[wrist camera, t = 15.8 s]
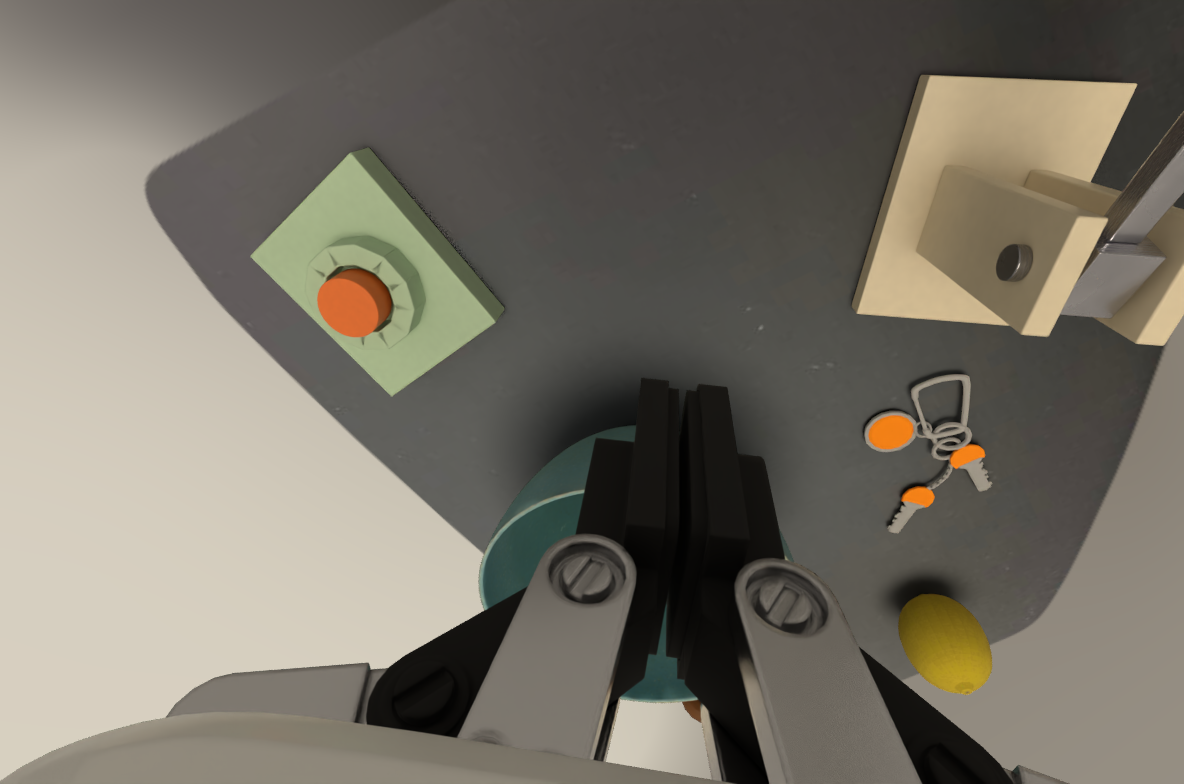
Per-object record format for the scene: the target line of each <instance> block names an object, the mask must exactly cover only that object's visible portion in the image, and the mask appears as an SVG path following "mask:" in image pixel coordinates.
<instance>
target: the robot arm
mask: <svg viewBox="0 0 1184 784" xmlns="http://www.w3.org/2000/svg"><path fill="white" fill-rule="evenodd" d="M666 602H667V604H666ZM665 607H666V657H671V658H677V679H682V680H684V684H685V685H686V686H687V688H688V689H689V690H690V691H691V692H692V693H693V694H694V695H695V696H696V698H697V699H698V700H699V701H700V702H701V705H700V707H701V722H702V728H703V733H704V738H705V744H706V750H707V755H708V761H709V766H710V772H711V777H712V780H710V779H704V778H698V777H692V776H686V775H679V774H673V773H668V772H662V771H656V770H650V769H644V768H637V767H632V766H625V765H620V764H613V763H608V762H606V758H607V754H608V750H609V746H610V742H611V737H612V733H613V729H614V725H615V721H616V717H617V713H618V709H619V704H620V697H621V696H622V695H623V694H625V693H626V692H627V691H628V690H630V689H631V688H632V687H634V686H635V685H636V684H638V683H639V682H640V681H641V680H643V679H644V678H645V672H646V666H647V661H648V655H649V654H651V655H657V650H658V644H659V639H660V634H661V628H662V623H663V618H664V612H665ZM0 784H1068V783H1066V782H1063V781H1060V780H1058V779H1055V778H1052V777H1050V776H1047V775H1044V774H1042V773H1039V772H1036V771H1033V770H1031V769H1028V768H1025V767H1023V766H1020V765H1018V766H1017V767H1016V768H1015V769H1014V770H1013V771H1010V770H1007V769H1005V768H1002V767H1001V765H1000V764H999V763H998V762H997V761H996V760H995V759H994V758H993V757H992V756H991V755H990V754H989V753H988V752H987V751H986V750H985V749H984V748H983V747H982V746H981V745H980V744H978V743H977V742H976V741H975V740H973V739H972V738H971V737H970V736H968V735H967V734H966V733H965V732H963V731H962V730H961V729H960V728H958V727H957V726H956V725H955V724H954V723H952V722H951V721H950V720H949V719H947V718H946V717H945V716H944V715H942V714H941V713H940V712H939V711H938V710H936V709H935V708H934V707H932V706H931V705H930V704H929V703H928V702H926V701H925V700H924V699H923V698H921V697H920V696H919V695H918V694H917V693H915V692H914V691H913V690H912V689H910V688H909V687H908V686H907V685H906V684H904V683H903V682H902V681H901V680H899V679H898V678H897V677H896V676H894V675H893V674H892V673H891V672H889V671H888V670H887V669H886V668H885V667H883V666H882V665H881V664H880V663H878V662H877V661H876V660H875V659H873V658H872V657H871V656H870V655H869V654H867V653H866V652H865V651H864V650H862V649H861V648H860V647H859V646H858V644H857V642H856V640H855V638H854V636H853V634H852V632H851V629H850V627H849V625H848V623H847V621H846V619H845V616H844V614H843V612H842V610H841V608H840V606H839V603H838V601H837V599H836V597H835V596H834V594H833V593H832V591H831V590H830V588H829V587H828V585H827V584H826V583H825V582H824V581H823V580H821V579H820V578H819V577H818V576H817V575H816V574H815V573H813V572H812V571H810V570H808V569H807V568H805V567H803V566H802V565H799V564H796V563H794V562H791V561H788V560H786V559H785V555H784V550H783V545H782V540H781V536H780V531H779V526H778V522H777V517H776V512H775V508H774V503H773V498H772V494H771V489H770V484H769V480H768V475H767V470H766V466H765V462H764V459H763V458H762V457H759V456H750V455H742V454H737V448H736V442H735V435H734V428H733V422H732V415H731V408H730V402H729V395H728V389H727V387H721V386H712V385H703V384H699V385H698V387H697V391H691V390H687V392H686V396H685V402H684V408H683V415H682V421H681V427H680V433H679V389H672V388H669V381H665V380H656V379H646V378H641V387H640V396H639V405H638V414H637V423H636V432H635V441H634V442H630V441H622V440H613V439H604V438H596V439H595V443H594V447H593V452H592V457H591V462H590V467H589V471H588V476H587V481H586V486H585V491H584V495H583V500H582V505H581V510H580V515H579V519H578V524H577V529H576V534H575V535H571V536H568V537H566V538H563V539H560V540H558V541H557V542H556V543H554V544H553V545H552V546H550V547H549V548H548V549H547V551H546V552H545V553H544V555H543V556H542V558H541V560H540V562H539V564H538V566H537V568H536V570H535V572H534V575H533V577H532V579H531V581H530V583H529V585H528V586H527V587H525V588H524V589H522V590H520V591H518V592H516V593H515V594H513V595H511V596H509V597H508V598H506V599H504V600H502V601H501V602H499V603H497V604H495V605H494V606H492V607H490V608H488V609H486V610H485V611H483V612H481V613H479V614H478V615H476V616H474V617H472V618H471V619H469V620H467V621H465V622H464V623H462V624H460V625H458V626H456V627H455V628H453V629H451V630H449V631H448V632H446V633H444V634H442V635H441V636H439V637H437V638H435V639H433V640H432V641H430V642H428V643H427V644H425V645H423V646H421V647H419V648H418V649H416V650H414V651H412V652H410V653H409V654H407V655H405V656H404V657H402V658H401V659H400V660H398V661H397V662H395V663H394V664H393V665H391V666H390V667H389V668H386V669H373V670H371V669H370V666H369V663H359V664H346V665H332V666H319V667H307V668H294V669H281V670H268V671H255V672H243V673H232V674H228V675H224V676H220V677H216V678H213V679H211V680H209V681H208V682H205V683H203V684H201V685H200V686H198V687H196V688H194V689H193V690H192V691H190V692H189V693H188V694H187V695H186V696H184V697H183V698H182V699H181V700H180V701H179V702H177V703H176V704H175V705H174V707H173V708H172V709H171V711H170V712H169V714H168V715H167V716H166V718H162V719H156V720H151V721H145V722H141V723H137V724H133V725H130V726H126V727H122V728H118V729H115V730H111V731H108V732H104V733H101V734H98V735H95V736H92V737H89V738H85V739H82V740H80V741H77V742H74V743H72V744H69V745H67V746H64V747H62V748H59V749H56V750H54V751H51V752H49V753H47V754H45V755H43V756H42V757H40V758H38V759H36V760H34V761H32V762H30V763H28V764H26V765H24V766H22V767H21V768H19V769H18V770H16V771H15V772H13V773H12V774H10V775H9V776H7V777H6V778H4V779H3V780H1V781H0Z"/></svg>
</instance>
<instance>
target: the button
mask: <svg viewBox="0 0 1184 784" xmlns="http://www.w3.org/2000/svg"><path fill="white" fill-rule="evenodd" d="M317 304H318V308H319V311H320V313H321V315H322V317H323V319H324V320H325V321H326V322H327V323H328V325H329V326H331V327H332V328H333V329H334V330H336V331H337V332H339V333H341V334H343V335H346V336H349V337H364V336H367V335H369V334H370V333H372V332H373V331H374V330H375V329H376V328H377V327H378V326H380V325H381V324H382V323H383V322H384V321H385V320H386V319H387V318H388V316H389V314H390V312H391V297H390V294H389V292H388V290H387V288H386V287H385V285H384V284H383V283H382V281H381V280H380V279H379V278H377V277H376V276H375V275H373V274H372V273H370V272H368V271H365V270H362V269H347V270H344V271H342V272H341V273H339V274H337V275H336V276H334V277H333V278H331V279H330V280H328V281H326V282H325V283H324V284H323V285H322V286H321V288H320V289H319V292H318V296H317Z"/></svg>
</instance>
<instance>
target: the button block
mask: <svg viewBox="0 0 1184 784" xmlns="http://www.w3.org/2000/svg"><path fill="white" fill-rule="evenodd" d="M250 257H251V258H252V259H253V260H254V261H255V262H256V263H257V264H258V265H259V266H260V267H261V268H262V269H263V270H264V271H265V272H266V273H267V274H268V275H269V276H270V277H271V278H272V279H273V280H274V281H275V282H276V283H278V284H279V285H280V286H281V287H282V288H283V289H284V290H285V291H286V292H287V293H288V294H289V295H290V296H291V297H292V298H293V299H294V300H295V301H296V302H297V303H298V304H299V305H300V306H301V307H302V308H303V309H304V310H305V311H306V312H307V313H308V314H309V315H310V316H311V317H312V318H313V319H314V320H315V321H316V322H317V323H318V324H319V325H320V326H321V327H322V328H323V329H324V330H325V331H326V332H327V333H328V334H329V335H330V336H331V337H332V338H333V339H334V340H335V341H336V342H337V343H338V344H339V345H340V346H341V347H342V348H343V349H344V350H345V351H346V352H347V353H348V354H349V355H350V356H351V357H352V358H353V359H354V360H355V361H356V362H357V363H358V364H359V365H360V366H361V367H362V368H363V369H364V370H365V371H366V372H367V373H368V374H369V375H370V376H371V377H372V378H373V379H374V380H375V381H376V382H377V383H378V384H379V385H380V386H381V387H382V388H384V389H385V390H386V391H387V392H388V393H389V394H390V395H391V396H393V395H395V394H396V393H397V392H399V391H400V390H402V389H403V388H404V387H406V386H407V385H409V384H410V383H411V382H413V381H414V380H416V379H417V378H418V377H420V376H421V375H423V374H424V373H425V372H427V371H428V370H430V369H431V368H432V367H434V366H435V365H437V364H438V363H439V362H441V361H442V360H444V359H445V358H447V357H448V356H449V355H451V354H452V353H454V352H455V351H456V350H458V349H459V348H461V347H462V346H463V345H465V344H466V343H468V342H469V341H470V340H472V339H473V338H475V337H476V336H477V335H479V334H480V333H482V332H483V331H484V330H486V329H487V328H489V327H490V326H491V325H493V324H494V323H496V321H497V320H498V318H499V317H500V315H501V314H502V312H503V311H504V309H505V308H504V307H503V306H502V304H501V303H500V302H499V301H498V300H497V299H496V297H495V296H494V295H493V294H492V293H491V291H490V290H489V289H488V288H487V287H486V286H485V284H484V283H483V282H482V281H481V280H480V278H479V277H478V276H477V275H476V274H475V272H474V271H473V270H472V269H471V268H470V267H469V265H468V264H467V263H466V262H465V261H464V259H463V258H462V257H461V256H460V255H459V254H458V252H457V251H456V250H455V249H454V248H453V246H452V245H451V244H450V243H449V242H448V240H447V239H446V238H445V237H444V236H443V235H442V233H441V232H440V231H439V230H438V229H437V227H436V226H435V225H434V224H433V223H432V222H431V220H430V219H429V218H428V217H427V216H426V214H425V213H424V212H423V211H422V210H421V208H420V207H419V206H418V205H417V204H416V203H415V201H414V200H413V199H412V198H411V197H410V195H409V194H408V193H407V192H406V191H405V190H404V188H403V187H402V186H401V185H400V184H399V182H398V181H397V180H396V179H395V178H394V176H393V175H392V174H391V173H390V172H389V171H388V169H387V168H386V167H385V166H384V165H383V163H382V162H381V161H380V160H379V159H378V157H377V156H376V155H375V154H374V153H373V152H372V150H371V149H370V148H365V149H362V150H358V151H355V152H351V153H349V154H348V155H347V156H346V157H345V158H344V159H343V161H342V162H341V163H340V164H339V165H338V166H337V167H336V168H335V169H334V170H333V171H332V172H331V173H330V174H329V175H328V176H327V177H326V178H325V179H324V180H323V181H322V182H321V183H320V184H319V185H318V186H317V187H316V188H315V189H314V190H313V192H312V193H311V194H310V195H309V196H308V197H307V198H306V199H305V200H304V201H303V202H302V203H301V204H300V205H299V206H298V207H297V208H296V209H295V210H294V211H293V212H292V213H291V214H290V215H289V216H288V217H287V218H286V219H285V220H284V221H283V222H282V224H281V225H280V226H279V227H278V228H277V229H276V230H275V231H274V232H273V233H272V234H271V235H270V236H269V237H268V238H267V239H266V240H265V241H264V242H263V243H262V244H261V245H260V246H259V247H258V248H257V249H256V250H255V251H254V252H253V253H252V255H251V256H250ZM347 269H362V270H365V271H368V272H370V273H372V274H373V275H375V276H376V277H377V278H379V279H380V280H381V281H382V283H383V284H384V285H385V287H386V288H387V290H388V292H389V294H390V297H391V312H390V314H389V316H388V318H387V319H386V320H385V321H384V322H383V323H382V324H381V325H380V326H378V327H377V328H376V329H375V330H374V331H373V332H372V333H370V334H369V335H367V336H364V337H349V336H346V335H343V334H341V333H339V332H337V331H336V330H334V329H333V328H332V327H331V326H329V325H328V323H327V322H326V321H325V320H324V319H323V317H322V315H321V313H320V311H319V308H318V304H317V296H318V292H319V289H320V288H321V286H322V285H323V284H324V283H325V282H326V281H328V280H330V279H331V278H333V277H334V276H336V275H337V274H339V273H341V272H342V271H344V270H347Z"/></svg>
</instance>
